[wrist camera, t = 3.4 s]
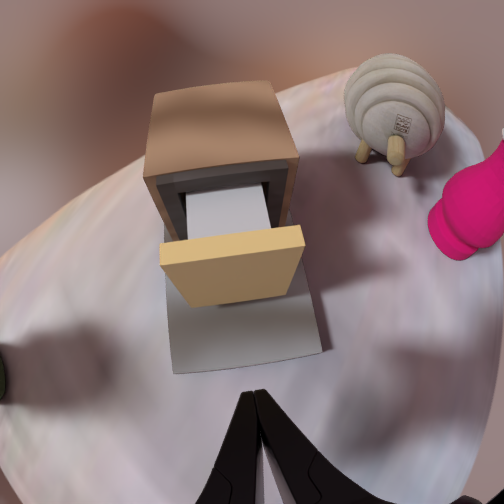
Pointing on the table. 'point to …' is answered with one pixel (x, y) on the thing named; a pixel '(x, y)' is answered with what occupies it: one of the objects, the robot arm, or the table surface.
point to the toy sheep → (394, 109)
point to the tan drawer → (231, 248)
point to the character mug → (2, 379)
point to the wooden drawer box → (218, 175)
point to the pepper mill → (470, 208)
